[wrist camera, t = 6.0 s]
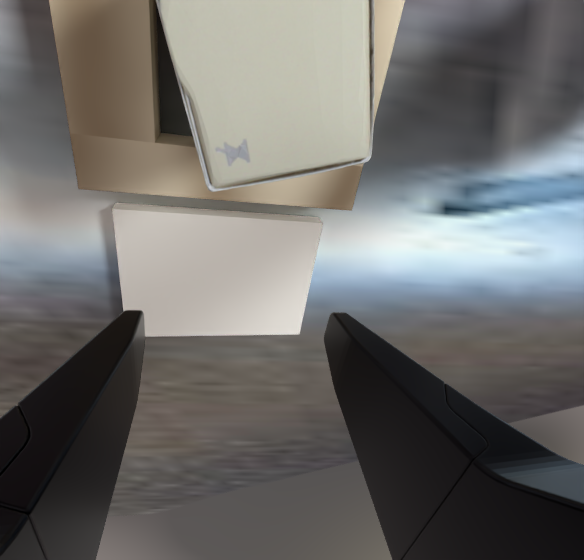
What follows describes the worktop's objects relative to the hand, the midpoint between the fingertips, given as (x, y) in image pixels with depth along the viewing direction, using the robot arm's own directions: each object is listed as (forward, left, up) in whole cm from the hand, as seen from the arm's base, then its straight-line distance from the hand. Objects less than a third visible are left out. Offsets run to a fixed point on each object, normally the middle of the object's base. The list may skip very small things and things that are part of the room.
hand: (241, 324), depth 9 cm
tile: (0, +6, -13) cm, 15 cm away
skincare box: (0, -7, -13) cm, 15 cm away
